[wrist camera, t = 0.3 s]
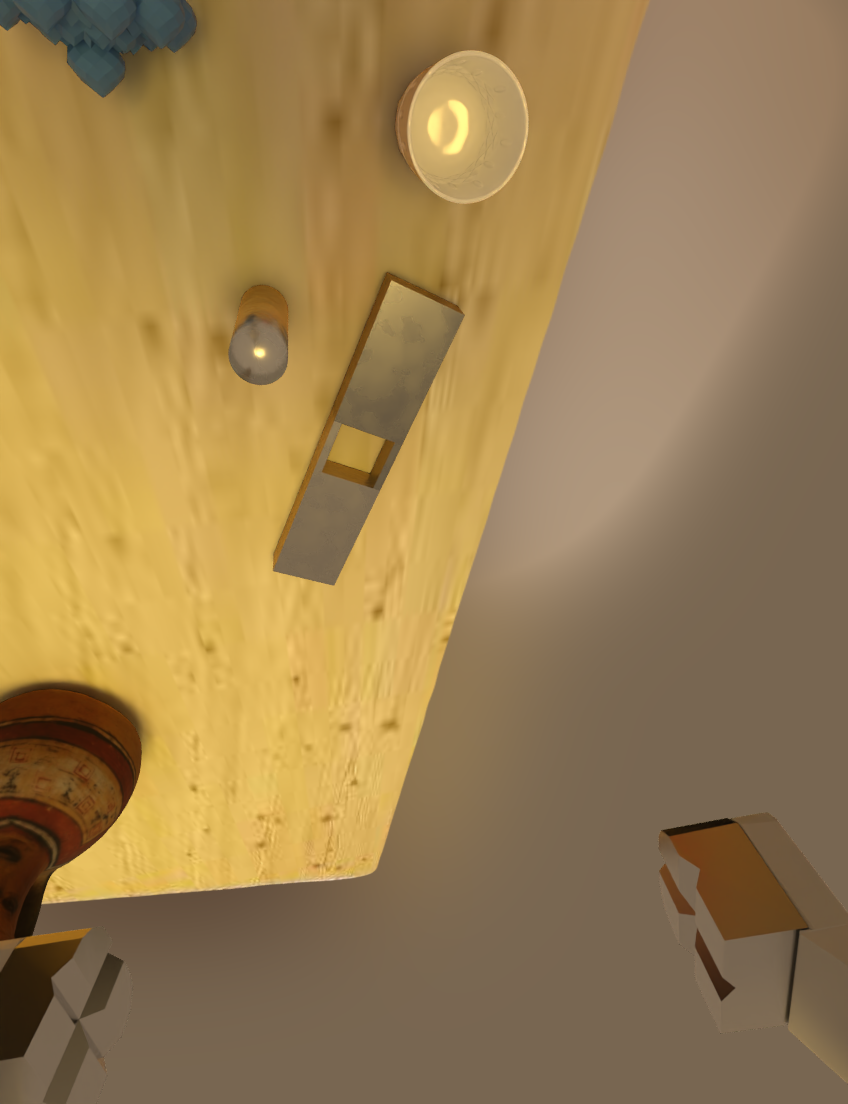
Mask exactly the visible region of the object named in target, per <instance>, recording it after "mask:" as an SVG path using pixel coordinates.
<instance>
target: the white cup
mask: <svg viewBox="0 0 848 1104" xmlns="http://www.w3.org/2000/svg"><path fill="white" fill-rule="evenodd" d="M528 128H529V117H528V108H527V103H526V99H525V95H524V92H523V90H522V87H521V85H520V83H519V81H518V79H517V78H516V76H515V75H514V73H513V72H512V71H511V69H510V68H509V67H508V66H507V65H506V64H505V63H504V62H502V61H501V60H500V59H498V58H497V57H495V56H493V55H491V54H489V53H486V52H482V51H477V50H466V51H460V52H456V53H453V54H451V55H449V56H447V57H445V58H443V59H442V60H440V61H438V62H436V63H435V64H433V65H431V66H430V67H428V68H427V69H425V70H424V71H423V72H421V73H420V74H419V75H418V76H417V77H416V78H415V79H414V80H413V81H411V82H410V84H409V85H408V87H407V89H406V90H405V92H404V94H403V95H402V97H401V99H400V100H399V102H398V108H397V114H396V121H395V132H396V136H397V141H398V146H399V150H400V152H401V153H402V155H403V156H404V158H405V160H406V162H407V164H408V165H409V167H410V168H411V170H412V171H413V172H414V173H415V175H416V176H417V177H418V178H419V179H420V180H421V181H422V182H423V183H424V184H425V185H426V186H427V187H428V188H429V189H430V190H431V191H432V192H434V193H435V194H436V195H438V196H439V197H441V198H443V199H445V200H448V201H451V202H454V203H461V204H468V203H475V202H479V201H482V200H484V199H487V198H489V197H490V196H492V195H494V194H495V193H497V192H498V191H499V190H500V189H501V188H503V187H504V186H505V185H506V183H507V182H508V181H509V180H510V179H511V177H512V176H513V174H514V173H515V171H516V170H517V168H518V166H519V164H520V162H521V159H522V157H523V154H524V151H525V147H526V143H527V138H528Z"/></svg>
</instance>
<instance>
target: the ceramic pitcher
mask: <svg viewBox="0 0 848 1104" xmlns="http://www.w3.org/2000/svg"><path fill="white" fill-rule="evenodd" d="M141 754H142V750H141V742H140V738H139V736H138V733H137V731H136V728H135V727H134V726H133V725H132V723H131V722H130V721H129V720H128V719H127V718H126V717H124V716H123V715H122V714H121V713H119V712H118V711H117V710H115V709H114V708H112V707H111V706H109V705H107V704H105V703H103V702H101V701H99V700H96V699H94V698H92V697H89V696H87V695H84V694H80V693H76V692H73V691H66V690H58V689H46V690H37V691H32V692H28V693H24V694H21V695H19V696H16V697H12V698H10V699H8V700H6V701H3V702H1V703H0V941H5V940H11V939H17V938H24V937H30V936H32V935H33V931H34V928H35V925H36V922H37V918H38V915H39V912H40V908H41V903H42V899H43V895H44V891H45V888H46V885H47V882H48V880H49V878H50V876H51V874H52V873H53V872H54V871H55V870H57V869H58V868H60V867H62V866H64V865H65V864H67V863H69V862H70V861H72V860H73V859H75V858H76V857H77V856H79V855H80V854H82V853H83V852H84V851H86V850H87V849H88V848H90V847H91V846H92V845H93V844H94V843H96V842H97V841H98V840H99V839H100V838H101V837H102V836H103V835H104V834H105V833H106V832H107V831H108V829H109V828H110V827H111V826H112V825H113V824H114V823H115V821H116V820H117V819H118V817H119V816H120V814H121V813H122V811H123V810H124V808H125V807H126V805H127V803H128V801H129V799H130V797H131V795H132V793H133V791H134V789H135V786H136V783H137V781H138V777H139V773H140V766H141Z"/></svg>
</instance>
